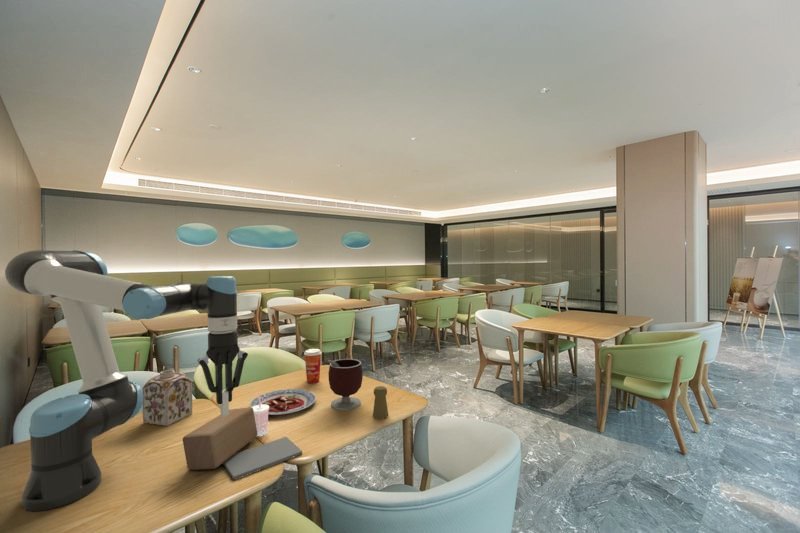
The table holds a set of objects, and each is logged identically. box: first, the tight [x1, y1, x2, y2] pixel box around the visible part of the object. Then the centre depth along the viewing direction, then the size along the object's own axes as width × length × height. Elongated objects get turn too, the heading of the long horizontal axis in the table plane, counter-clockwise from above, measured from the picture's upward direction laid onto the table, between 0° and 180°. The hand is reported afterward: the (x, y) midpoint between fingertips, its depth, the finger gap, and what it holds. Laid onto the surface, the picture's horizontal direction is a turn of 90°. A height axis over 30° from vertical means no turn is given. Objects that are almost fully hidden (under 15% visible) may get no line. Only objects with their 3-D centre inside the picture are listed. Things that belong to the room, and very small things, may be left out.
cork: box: [372, 385, 389, 420], centre depth 140 cm, size 6×6×11 cm
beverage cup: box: [252, 392, 269, 437], centre depth 126 cm, size 6×6×14 cm
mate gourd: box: [326, 358, 364, 411], centre depth 150 cm, size 16×14×20 cm
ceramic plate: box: [249, 388, 317, 416], centre depth 150 cm, size 26×26×3 cm
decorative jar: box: [141, 369, 193, 427], centre depth 138 cm, size 12×12×18 cm
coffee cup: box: [303, 348, 322, 384], centre depth 179 cm, size 8×8×15 cm
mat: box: [222, 436, 303, 480], centre depth 111 cm, size 20×12×1 cm, turn 130°
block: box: [182, 406, 258, 471], centre depth 113 cm, size 10×10×20 cm
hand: (224, 413), depth 103 cm, fingers closed
